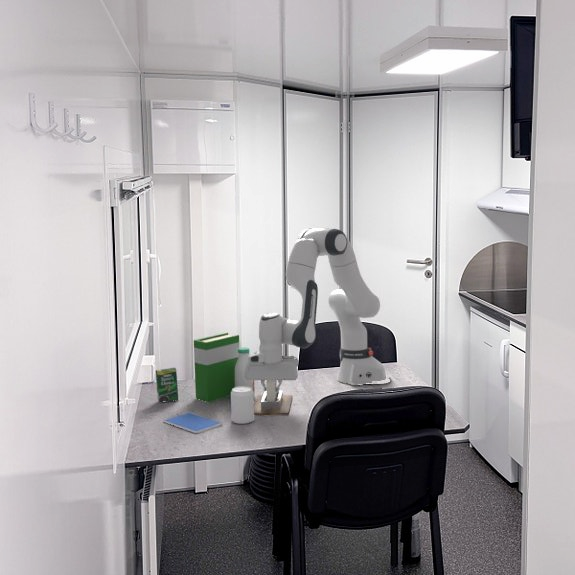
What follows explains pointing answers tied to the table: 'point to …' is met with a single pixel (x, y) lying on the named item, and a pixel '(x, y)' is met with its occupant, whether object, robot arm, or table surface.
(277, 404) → the bottom track
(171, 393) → the coffee box
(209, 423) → the tablet computer
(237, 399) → the beverage can
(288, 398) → the track board
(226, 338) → the hardback book
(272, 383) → the door panel
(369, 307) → the robot arm
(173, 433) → the table surface
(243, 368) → the milk bottle
